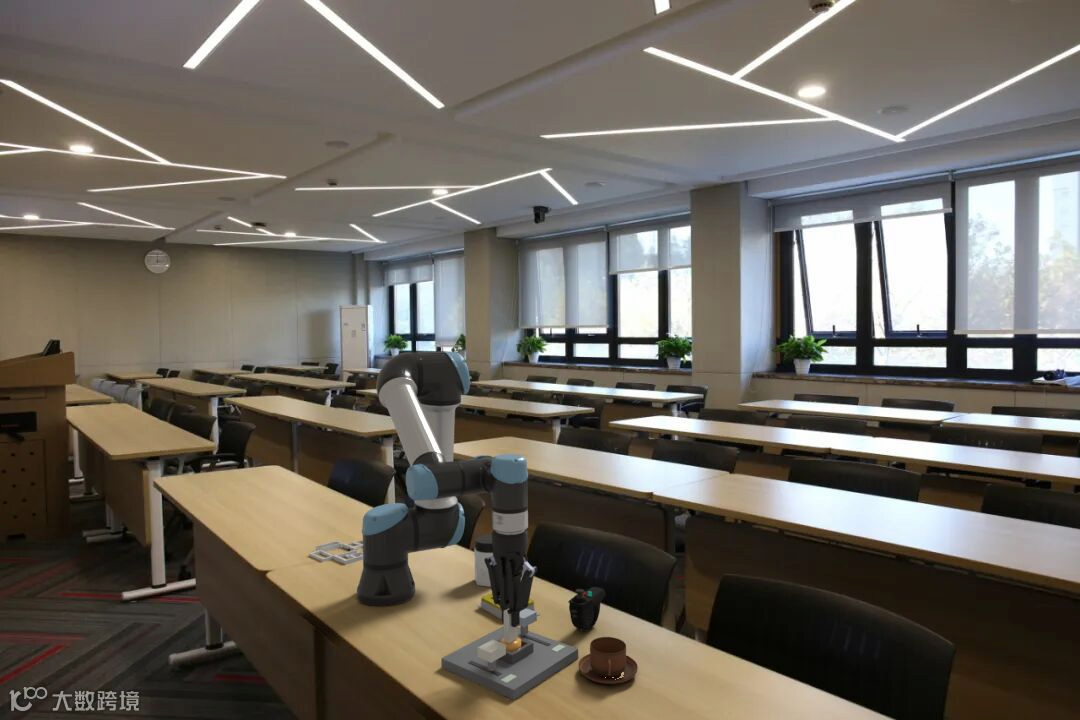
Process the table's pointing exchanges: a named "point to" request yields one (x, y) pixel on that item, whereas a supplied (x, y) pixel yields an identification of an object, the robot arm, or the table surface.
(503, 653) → the off-white rectangular box
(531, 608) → the emergency button
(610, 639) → the cup and saucer
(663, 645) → the table surface
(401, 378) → the robot arm
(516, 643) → the amber button
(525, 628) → the slate lever
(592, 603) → the controller
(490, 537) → the jar
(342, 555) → the floor plan model
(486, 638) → the control panel
